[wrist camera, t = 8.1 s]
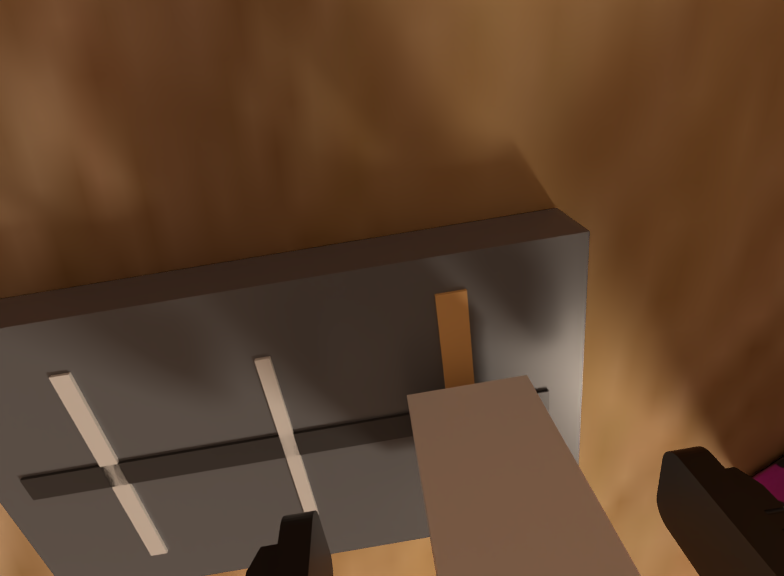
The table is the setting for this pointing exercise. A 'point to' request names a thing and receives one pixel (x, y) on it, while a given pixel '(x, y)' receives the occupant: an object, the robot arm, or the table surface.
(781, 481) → the candy bar box
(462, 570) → the fader knob
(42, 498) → the fader console
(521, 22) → the table surface
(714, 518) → the robot arm
